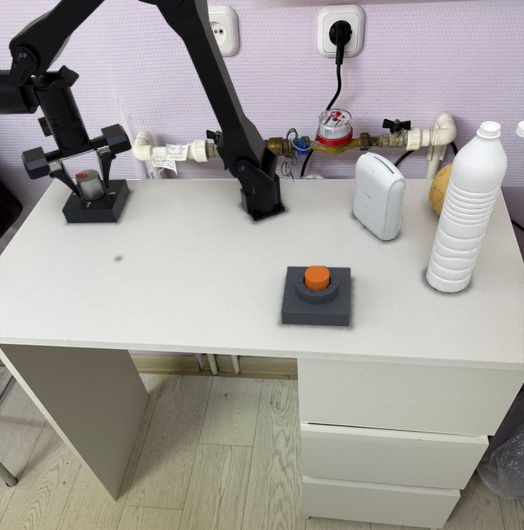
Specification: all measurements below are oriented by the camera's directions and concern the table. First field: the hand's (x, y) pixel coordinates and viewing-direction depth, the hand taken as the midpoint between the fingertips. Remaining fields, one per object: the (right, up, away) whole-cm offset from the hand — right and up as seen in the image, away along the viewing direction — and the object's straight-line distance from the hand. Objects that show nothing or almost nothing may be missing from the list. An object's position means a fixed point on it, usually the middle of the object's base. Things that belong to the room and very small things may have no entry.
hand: (93, 191), depth 96 cm
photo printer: (+53, -8, -8) cm, 54 cm away
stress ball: (+67, -7, -8) cm, 68 cm away
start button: (+41, -20, -21) cm, 51 cm away
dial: (0, 0, 0) cm, 0 cm away
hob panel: (0, -2, +3) cm, 4 cm away
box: (+41, -23, -18) cm, 51 cm away
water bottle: (+63, -20, -18) cm, 68 cm away
